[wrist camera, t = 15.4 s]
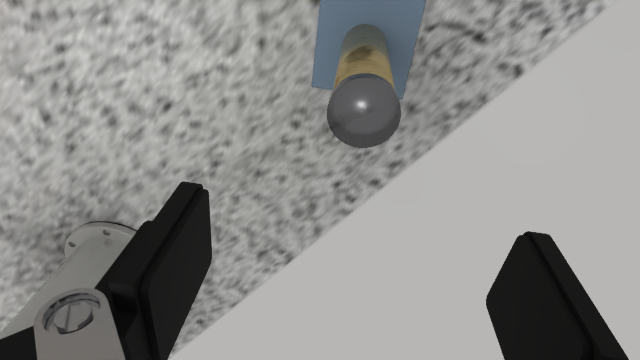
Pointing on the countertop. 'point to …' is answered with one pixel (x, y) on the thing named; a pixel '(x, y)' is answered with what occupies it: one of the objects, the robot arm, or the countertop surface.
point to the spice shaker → (364, 90)
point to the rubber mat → (375, 9)
